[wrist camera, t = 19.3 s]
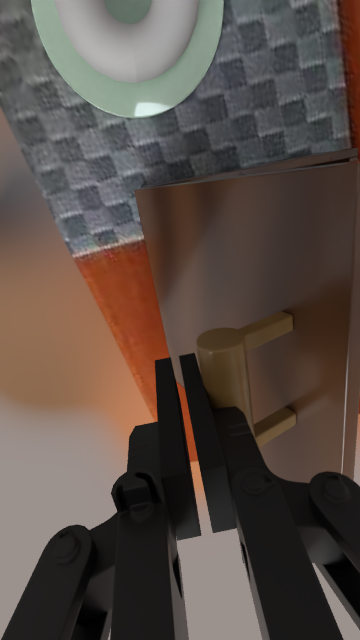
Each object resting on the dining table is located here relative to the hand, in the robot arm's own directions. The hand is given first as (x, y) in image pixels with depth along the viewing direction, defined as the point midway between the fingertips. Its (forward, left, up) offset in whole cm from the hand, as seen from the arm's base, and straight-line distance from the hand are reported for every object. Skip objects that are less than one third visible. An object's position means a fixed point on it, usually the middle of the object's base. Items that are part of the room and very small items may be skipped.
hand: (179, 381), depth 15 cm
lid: (-3, +1, -4) cm, 5 cm away
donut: (-9, -18, -18) cm, 28 cm away
